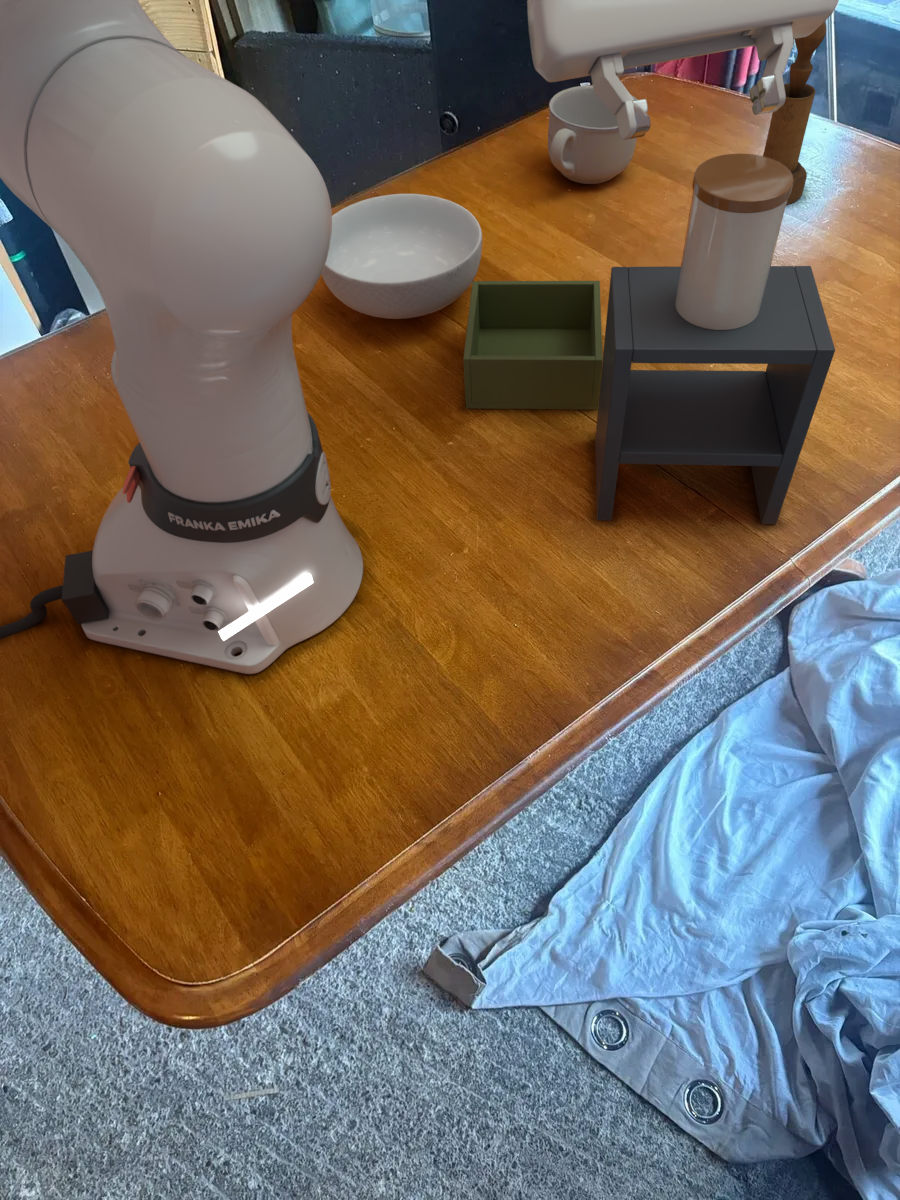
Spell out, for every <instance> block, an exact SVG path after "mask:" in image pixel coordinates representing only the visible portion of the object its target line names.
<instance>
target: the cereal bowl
mask: <svg viewBox="0 0 900 1200" xmlns="http://www.w3.org/2000/svg"><path fill="white" fill-rule="evenodd" d="M482 251H483V232H482V228H481V225H480V223H479V221H478V219H477V218H476V217H475V216H474V215H473V213H472V212H470V210H468V209H466V208H465V207H464V206H462V205H461V204H458V203H456V202H454V201H451V200H450V199H446V198H443V197H440V196H434V195H428V194H420V193H394V194H392V193H391V194H386V195H379V196H374V197H369V198H366V199H363V200H360V201H357V202H354V203H352V204H350V205H348V206H345V207H343V208H342V209H340V210H338V211H337V212H336V213H334V214H332V236H331V243H330V249H329V253H328V257H327V260H326V263H325V266H324V268H323V271H322V273H321V275H320V276H321V277H322V280H323V281H324V283H325V286H326V287H327V288H328V290H329V291H330V292H331V293H332V294H333V296H334V297H336V298H337V300H338V301H340V302H341V303H342V304H343V305H346V306H347V307H348V308H350V309H352V310H353V311H355V312H358V313H360V314H364V315H367V316H371V317H372V318H374V317H375V318H379V319H388V320H390V319H391V320H402V319H413V318H418V317H423V316H427V315H429V314H433V313H435V312H438V311H440V310H442V309H444V308H446V307H447V306H449V305H451V304H452V303H454V302H455V301H456V300H457V299H459V298H461V296H462V295H463V294H464V293H465V292H466V291H467V290H468V289H469V288H470V286H472V283H473V281H475V277H476V276H477V273H478V271H479V268H480V265H481V259H482Z"/></svg>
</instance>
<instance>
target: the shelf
mask: <svg viewBox="0 0 900 1200" xmlns="http://www.w3.org/2000/svg"><path fill="white" fill-rule="evenodd" d="M680 269H681V266H611V269H610V278H609V288H608V299H607V311H606V321H605V333H604V342H603V351H602V370H601V381H600V391H599V402H598V410H597V414H596V415H597V416H596V426H595V438H594V441H595V442H594V445H595V449H594V450H595V479H596V480H595V486H596V487H595V489H596V492H595V493H596V520H597V521H606V522H607V521H612V519H613V513H614V505H615V497H616V489H617V481H618V474H619V473H618V472H619V467H620V465H673V466H679V465H680V466H683V465H684V466H729V467H730V466H735V467H737V466H739V467H751V474H752V479H753V484H754V490H755V496H756V502H757V507H758V513H759V518H760V524H762V525H777V522H778V519H779V517H780V513H781V511H782V508H783V505H784V502H785V499H786V496H787V495H788V494H787V493H788V491H789V487H790V485H791V482H792V479H793V476H794V473H795V469H796V468H797V464H798V461H799V459H800V455H801V452H802V449H803V446H804V444H805V440H806V437H807V435H808V431H809V428H810V425H811V423H812V420H813V417H814V414H815V411H816V408H817V405H818V402H819V399H820V397H821V395H822V394H821V393H822V391H823V388H824V384H825V382H826V379H827V377H828V376H827V375H828V372H829V370H830V367H831V364H832V361H833V357H834V356H835V353H836V348H835V344H834V340H833V337H832V334H831V331H830V326H829V323H828V321H827V320H828V319H827V316H826V314H825V310H824V307H823V303H822V299H821V295H820V292H819V290H818V286H817V283H816V279H815V275H814V272H813V269H812V266H811V265H771V267H770V271H769V275H768V279H767V283H766V287H765V291H764V295H763V299H762V303H761V307H760V311H759V314H758V316H757V317H756V318H755V319H754V320H753V321H752V322H751V323H749V324H747V325H745V326H743V327H740V328H736V329H731V330H712V329H706V328H702V327H699V326H696V325H694V324H691V323H689V322H688V321H686V320H685V319H684V318H682V317H681V316H680V315H679V313H678V312H677V310H676V307H675V299H676V293H677V287H678V281H679V275H680ZM632 364H701V365H702V364H712V365H713V364H714V365H715V364H721V365H723V364H724V365H725V364H727V365H729V364H730V365H731V364H732V365H756V364H757V365H766V369H765V370H687V369H686V370H685V369H684V370H682V369H681V370H679V369H678V370H677V369H676V370H673V369H671V370H669V369H668V370H667V369H666V370H665V369H632Z"/></svg>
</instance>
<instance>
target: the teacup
mask: <svg viewBox="0 0 900 1200" xmlns="http://www.w3.org/2000/svg"><path fill="white" fill-rule="evenodd" d="M630 95H631V96H632V97H633V99H634V101H636V100H639V99H638V98H637V97H635V96H634V95H633V94H630ZM548 111H549V116H548V128H547V129H548V130H547V152H548V157H549V159H550V162H551V164H552V165H553V167H554V168H556V169H557V170H558V171H559V172H560V174H561V175H563V176H564V177H565V178H566V179H568V180H570V181H572V182H575V183H578V184H583V185H596V184H597V185H598V184H603V183H605V182H608V181H610V180H613V178H614V177H616V176H618V175H619V174H621V173H622V172H623V171H625V170H626V169H627V167H629V165H630V163H631V161H632V159H633V157H634V153H635V151H636V150H635V149H636V146H637V145H636V144H637V140H638V138H633V139H628V140H621V137H620V134H619V129H618V124H617V119H616V115H614V114H613V113H612V112H611V111H610V110H609V109H608V107H607V106H606V105H605V104H604V103H603V102H602V100H601V99H600V98H599V97H598V96H597V95H596V93H595V92H594V89H593V84H591V85H578V86H573V87H569V88H565V89H563V90H561V91H558V92H557V93H556V94H554V95H553V97H551V98H550V100H549V103H548Z"/></svg>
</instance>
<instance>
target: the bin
mask: <svg viewBox="0 0 900 1200" xmlns="http://www.w3.org/2000/svg"><path fill="white" fill-rule="evenodd" d="M601 302H602V301H601V281H600V280H473V281H472V283H471V292H470V300H469V309H468V316H467V317H468V318H467V325H466V332H465V333H466V334H465V343H464V349H463V350H464V351H463V358H462V361H463V376H464V377H463V379H464V395H465V398H464V399H465V409H473V410H475V409H477V410H479V409H480V410H481V409H485V410H486V409H487V410H489V409H490V410H570V411H571V410H573V411H574V410H575V411H576V410H577V411H582V410H583V411H584V410H585V411H598V404H599V394H600V383H601V373H602V362H603V336H602V334H603V333H602V307H601V306H602V305H601Z"/></svg>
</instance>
